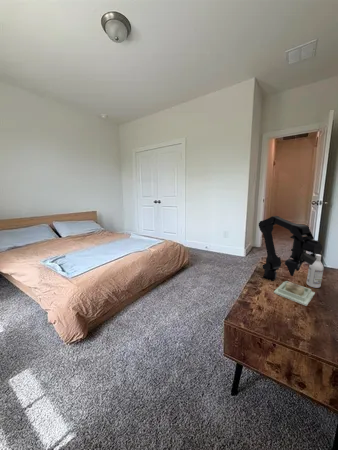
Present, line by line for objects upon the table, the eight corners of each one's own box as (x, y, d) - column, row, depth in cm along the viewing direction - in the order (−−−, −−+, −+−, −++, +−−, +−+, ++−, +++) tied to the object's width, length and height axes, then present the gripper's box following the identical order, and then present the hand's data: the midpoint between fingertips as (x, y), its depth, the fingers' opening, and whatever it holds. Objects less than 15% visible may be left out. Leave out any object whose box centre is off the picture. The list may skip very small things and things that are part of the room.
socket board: (273, 293, 110) (274, 288, 109) (283, 283, 120) (284, 279, 119) (306, 306, 98) (307, 301, 97) (314, 294, 108) (315, 289, 107)
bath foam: (322, 286, 116) (328, 255, 111) (316, 289, 113) (321, 258, 108) (310, 281, 122) (315, 252, 117) (304, 283, 119) (308, 254, 114)
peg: (285, 289, 111) (285, 283, 110) (288, 287, 113) (289, 281, 112) (299, 296, 104) (300, 290, 103) (303, 294, 106) (304, 288, 105)
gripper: (311, 256, 93) (306, 284, 97) (320, 247, 105) (316, 273, 109) (286, 250, 101) (282, 276, 105) (297, 242, 113) (294, 266, 117)
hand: (294, 273), depth 109 cm, fingers open, 9 cm apart
